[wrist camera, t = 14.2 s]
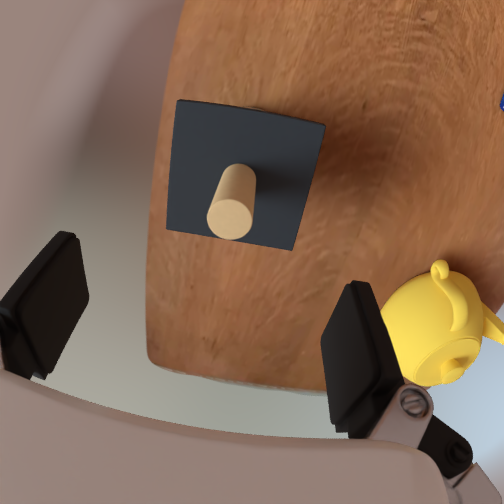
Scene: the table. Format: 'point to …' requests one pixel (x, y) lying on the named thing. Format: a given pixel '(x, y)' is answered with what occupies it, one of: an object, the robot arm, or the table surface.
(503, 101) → the credit card
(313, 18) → the table surface
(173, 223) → the plate with wooden peg
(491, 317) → the teapot
